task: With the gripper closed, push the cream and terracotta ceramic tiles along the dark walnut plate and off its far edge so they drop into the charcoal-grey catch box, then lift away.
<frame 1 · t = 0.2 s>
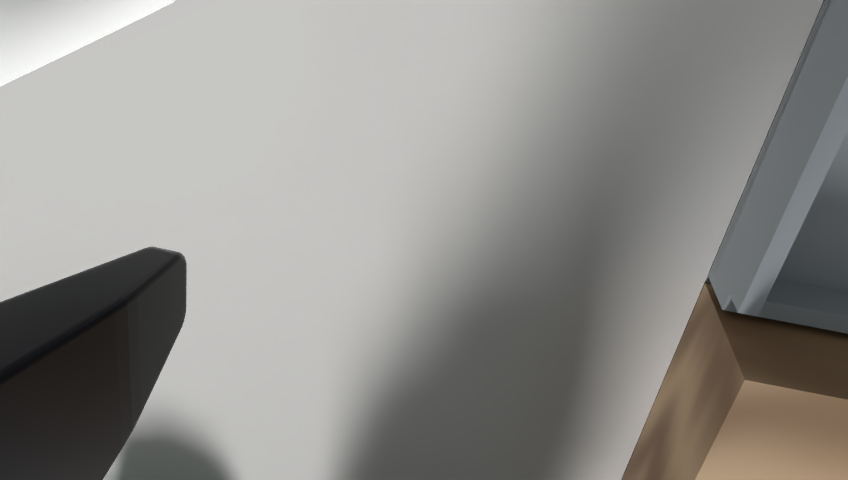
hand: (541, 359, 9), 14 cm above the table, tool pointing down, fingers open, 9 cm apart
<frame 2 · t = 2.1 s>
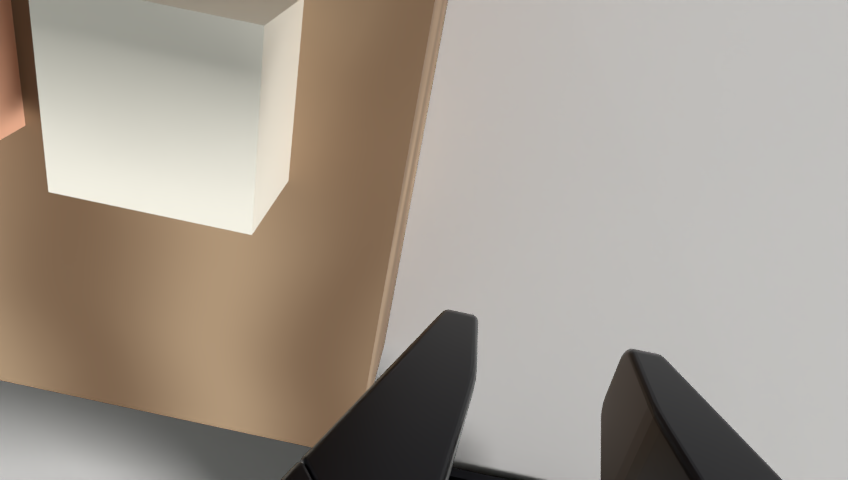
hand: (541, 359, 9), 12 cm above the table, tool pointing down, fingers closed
cream tile: (201, 75, 15), point 5 cm above the table, touching walnut plate
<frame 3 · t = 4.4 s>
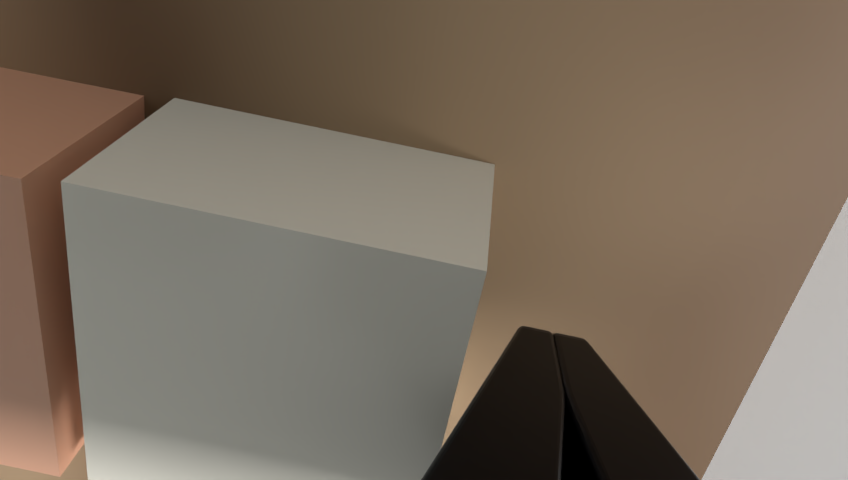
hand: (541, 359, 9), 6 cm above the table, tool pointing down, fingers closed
cream tile: (318, 267, 10), point 5 cm above the table, touching gripper, walnut plate
terracotta tile: (6, 206, 10), point 5 cm above the table, touching walnut plate
walnut plate: (311, 124, 14), on the table
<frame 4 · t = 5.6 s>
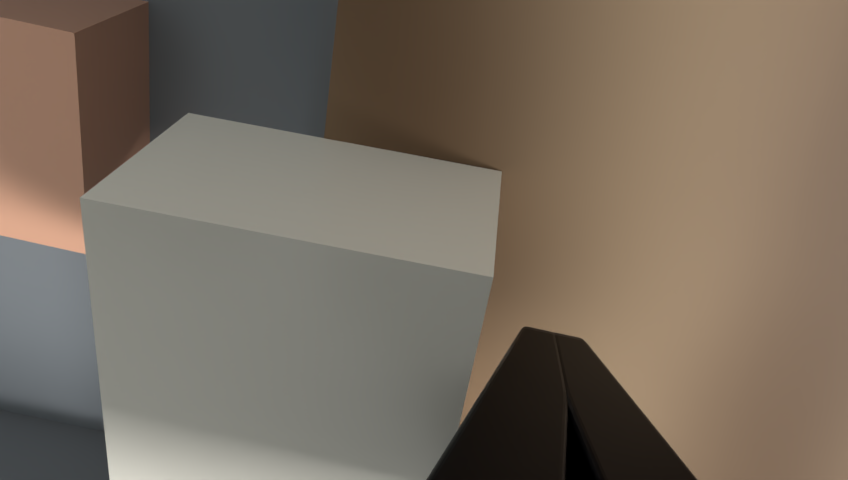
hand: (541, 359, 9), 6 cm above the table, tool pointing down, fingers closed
cream tile: (330, 275, 10), point 5 cm above the table, touching gripper, walnut plate
catch box: (52, 72, 14), on the table
walnut plate: (746, 212, 14), on the table
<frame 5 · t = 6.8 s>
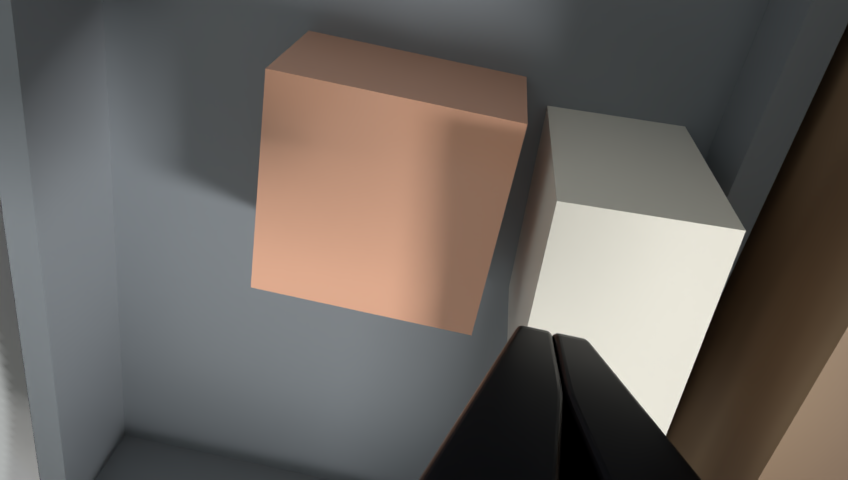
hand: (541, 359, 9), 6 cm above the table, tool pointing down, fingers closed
cream tile: (673, 277, 12), point 2 cm above the table, tilted 90°, touching catch box
catch box: (397, 140, 14), on the table
terracotta tile: (376, 212, 12), point 3 cm above the table, tilted 180°, touching catch box
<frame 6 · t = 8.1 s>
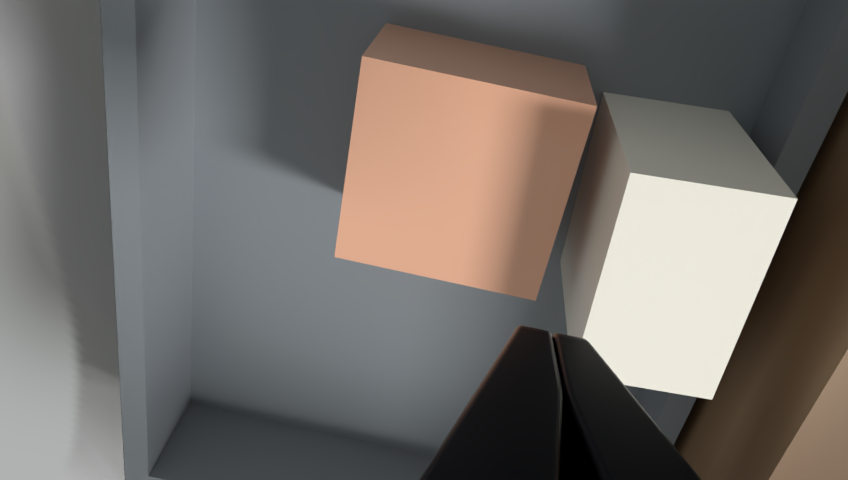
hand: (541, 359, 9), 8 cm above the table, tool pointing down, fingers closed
cream tile: (721, 247, 13), point 2 cm above the table, tilted 90°, touching catch box
catch box: (460, 124, 15), on the table
terracotta tile: (455, 187, 13), point 3 cm above the table, tilted 180°, touching catch box
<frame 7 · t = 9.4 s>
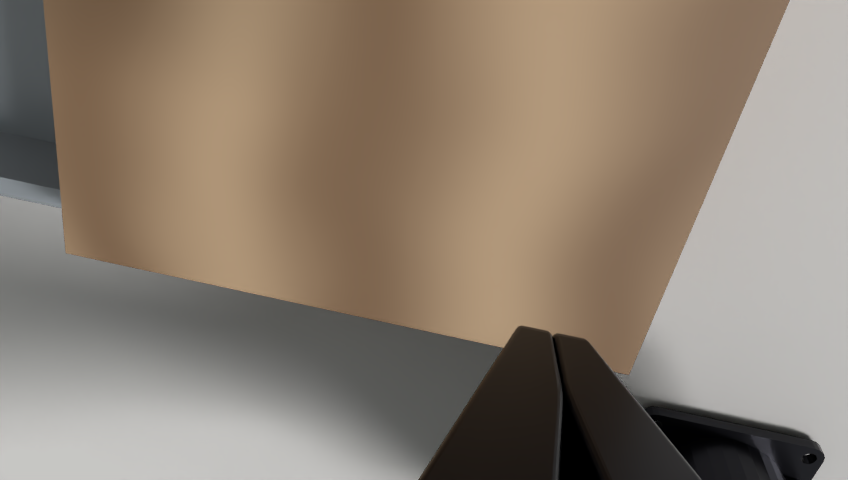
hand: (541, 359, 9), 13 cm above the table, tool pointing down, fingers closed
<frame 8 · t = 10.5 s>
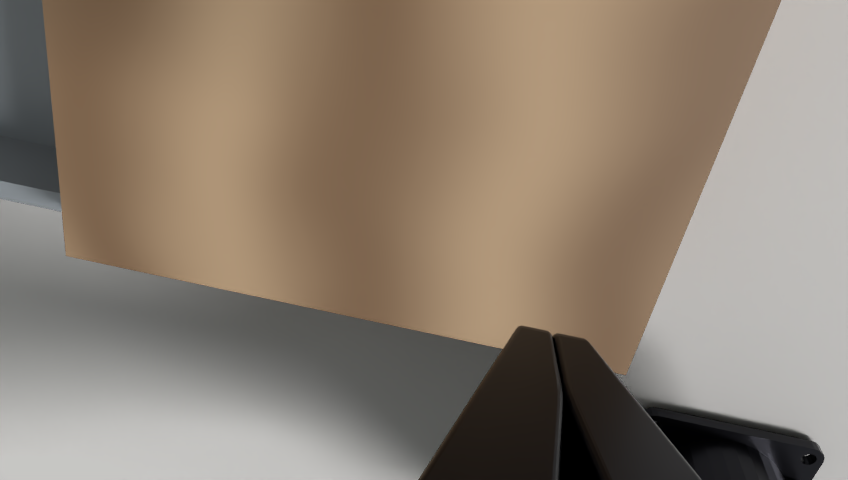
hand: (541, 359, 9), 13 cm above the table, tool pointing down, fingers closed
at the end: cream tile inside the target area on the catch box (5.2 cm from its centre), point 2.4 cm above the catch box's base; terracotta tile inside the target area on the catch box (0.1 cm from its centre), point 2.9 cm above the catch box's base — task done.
